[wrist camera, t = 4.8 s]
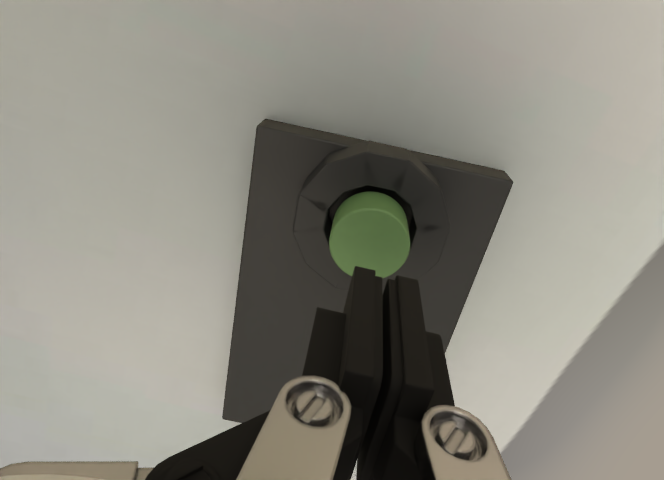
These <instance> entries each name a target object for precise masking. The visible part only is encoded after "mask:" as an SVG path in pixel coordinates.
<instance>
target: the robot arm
mask: <svg viewBox="0 0 664 480" xmlns="http://www.w3.org/2000/svg"><path fill="white" fill-rule="evenodd" d="M375 275H376V272H375V270H372V269H367V268H363V267H358V266H355V268H354V271H353V275H352V279H351V283H350V287H349V291H348V295H347V299H346V303H345V306H344V310H343V313H341V312H337V311H332V310H328V309H323V308H319V307H317V311H316V315H315V320H314V324H313V329H312V333H311V338H310V342H309V347H308V351H307V356H306V360H305V365H304V369H303V374H302V376H300V377H297V378H293V379H292V380H290V381H289V382H287V383H286V384H285V385H284V386H283V388H282V389H281V390H280V392H279V394H278V396H277V398H276V400H275V402H274V404H273V406H272V408H271V410H270V411H268V412H265V413H263V414H261V415H259V416H257V417H255V418H252V419H250V420H248V421H246V422H244V423H242V424H240V425H237V426H235V427H233V428H231V429H229V430H227V431H225V432H222V433H220V434H218V435H216V436H214V437H212V438H210V439H207V440H205V441H203V442H201V443H199V444H197V445H194V446H192V447H190V448H188V449H186V450H184V451H182V452H179V453H177V454H175V455H173V456H171V457H169V458H167V459H166V460H164V461H162V462H161V463H159V464H158V465H156V467H155V468H138V461H135V462H22V463H15V464H10V465H8V466H5V467H3V468H0V480H350V479H351V476H352V473H353V470H354V467H355V464H356V461H357V480H511V478H510V475H509V473H508V471H507V468H506V467H505V464H504V461H503V459H502V457H501V455H500V452H499V450H498V448H497V445H496V443H495V441H494V438H493V437H492V435H491V433H490V432H489V430H488V428H487V427H486V426H485V425H484V424H483V423H482V422H481V421H480V420H479V419H478V418H477V417H475V416H474V415H472V414H471V413H470V412H468V411H465V410H463V409H461V408H459V407H455V405H454V400H453V395H452V390H451V384H450V379H449V374H448V369H447V364H446V359H445V354H444V349H443V344H442V339H441V336H440V335H439V334H436V333H432V332H427V331H426V330H425V323H424V316H423V310H422V303H421V296H420V290H419V283H418V280H417V279H413V278H408V277H403V276H399V275H397V276H396V277H395V280H392V279H388V280H387V282H386V285H385V288H384V292H383V295H382V277H378V276H375Z"/></svg>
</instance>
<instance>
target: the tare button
mask: <svg viewBox="0 0 664 480" xmlns="http://www.w3.org/2000/svg"><path fill="white" fill-rule="evenodd" d="M329 249H330V253H331V256H332V258H333V260H334V261H335V263H336V264H337V265H338V267H339V268H340V269H341V270H342V271H344V272H345V273H347V274H348V275H350V276H352V275H353V271H354V268H355V266H358V267H363V268H367V269H372V270H375V272H376V275H375V276H378V277H382V278H385V277H388V276H390V275H392V274H393V273H395V272H396V271H397V270H398V269H399V268H400V267H401V266H402V265H403V264H404V263H405V261H406V259H407V257H408V255H409V251H410V236H409V229H408V223H407V218H406V215H405V212H404V210H403V208H402V207H401V206H400V204H399V203H398V202H397V201H395V200H394V199H393V198H391V197H390V196H388V195H386V194H383V193H379V192H371V191H368V192H361V193H357V194H355V195H353V196H351V197H349V198H347V199H346V200H345V201H344V202H343V203H342V204H341V205H340V206H339V208H338V209H337V211H336V213H335V216H334V219H333V224H332V228H331V233H330V238H329Z"/></svg>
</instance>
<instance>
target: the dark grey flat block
mask: <svg viewBox="0 0 664 480" xmlns="http://www.w3.org/2000/svg"><path fill="white" fill-rule="evenodd" d="M512 184H513V181H512V180H511V179H510V177H509V176H508V175H507V174H506V173H505V172H504V171H502V170H497V169H493V168H488V167H484V166H479V165H475V164H470V163H465V162H461V161H456V160H452V159H447V158H442V157H438V156H433V155H429V154H424V153H420V152H415V151H410V150H407V149H404V148H400V147H395V146H391V145H386V144H382V143H377V142H372V141H365V140H360V139H355V138H351V137H346V136H342V135H337V134H333V133H328V132H323V131H319V130H314V129H310V128H305V127H300V126H296V125H291V124H287V123H282V122H278V121H273V120H268V119H265V120H264V121H262V122H261V123H260V124H259V125H258V126H257V129H256V138H255V146H254V155H253V163H252V172H251V180H250V188H249V197H248V205H247V214H246V222H245V231H244V239H243V248H242V256H241V264H240V273H239V281H238V290H237V298H236V307H235V315H234V323H233V332H232V340H231V349H230V357H229V366H228V374H227V383H226V391H225V399H224V408H223V416H222V418H223V419H225V420H230V421H235V422H239V423H244V422H246V421H248V420H250V419H252V418H255V417H257V416H259V415H261V414H263V413H265V412H268V411H270V410H271V408H272V406H273V404H274V402H275V400H276V398H277V396H278V394H279V392H280V390H281V389H282V388H283V386H284V385H285V384H286V383H287V382H289V381H290V380H292V379H293V378H297V377H300V376H302V374H303V369H304V365H305V360H306V356H307V351H308V347H309V342H310V338H311V333H312V329H313V324H314V320H315V315H316V311H317V307H319V308H323V309H328V310H332V311H337V312H341V313H343V310H344V306H345V303H346V299H347V295H348V291H349V287H350V283H351V279H352V276H350V275H348V274H347V273H345V272H344V271H342V270H341V269H340V268H339V267H338V265H337V264H336V263H335V261H334V260H333V258H332V256H331V253H330V249H329V238H330V233H331V228H332V224H333V219H334V216H335V213H336V211H337V209H338V208H339V206H340V205H341V204H342V203H343V202H344V201H345V200H346V199H347V198H349V197H351V196H353V195H355V194H357V193H361V192H368V191H371V192H379V193H383V194H386V195H388V196H390V197H391V198H393V199H394V200H395V201H397V202H398V203H399V204H400V206H401V207H402V208H403V210H404V212H405V215H406V218H407V223H408V229H409V236H410V251H409V255H408V257H407V259H406V261H405V263H404V264H403V265H402V266H401V267H400V268H399V269H398V270H397V271H396V272H395V273H393V274H392V275H390V276H388V277H385V278H382V295H383V292H384V288H385V285H386V282H387V280H388V279H392V280H395V277H396V276H397V275H399V276H403V277H408V278H413V279H417V280H418V283H419V290H420V296H421V303H422V310H423V316H424V323H425V330H426V331H427V332H432V333H436V334H439V335H440V336H441V339H442V344H443V349H444V354H445V352H446V349H447V347H448V344H449V342H450V339H451V337H452V334H453V332H454V329H455V327H456V324H457V322H458V319H459V317H460V314H461V312H462V309H463V307H464V304H465V302H466V299H467V297H468V294H469V292H470V289H471V287H472V284H473V282H474V279H475V277H476V274H477V272H478V269H479V267H480V264H481V262H482V259H483V257H484V254H485V252H486V249H487V247H488V244H489V242H490V239H491V237H492V234H493V232H494V229H495V227H496V224H497V222H498V219H499V217H500V214H501V212H502V209H503V207H504V204H505V202H506V199H507V197H508V194H509V192H510V189H511V187H512Z"/></svg>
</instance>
